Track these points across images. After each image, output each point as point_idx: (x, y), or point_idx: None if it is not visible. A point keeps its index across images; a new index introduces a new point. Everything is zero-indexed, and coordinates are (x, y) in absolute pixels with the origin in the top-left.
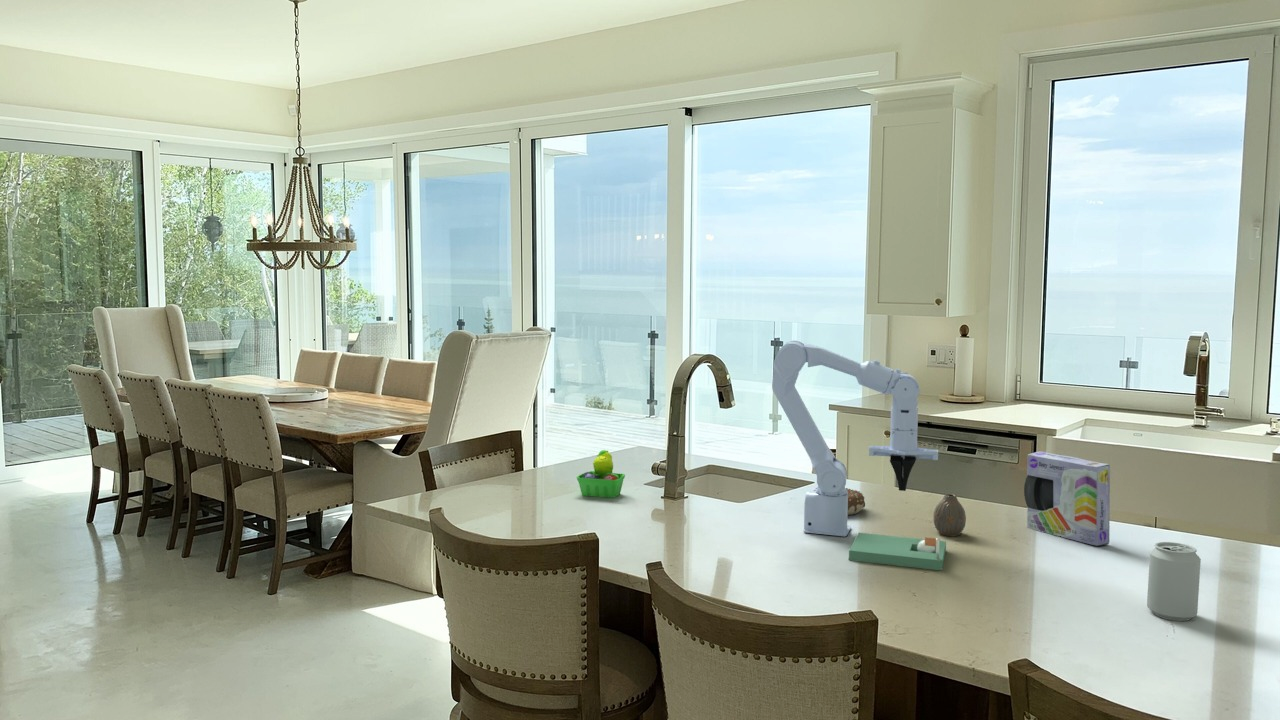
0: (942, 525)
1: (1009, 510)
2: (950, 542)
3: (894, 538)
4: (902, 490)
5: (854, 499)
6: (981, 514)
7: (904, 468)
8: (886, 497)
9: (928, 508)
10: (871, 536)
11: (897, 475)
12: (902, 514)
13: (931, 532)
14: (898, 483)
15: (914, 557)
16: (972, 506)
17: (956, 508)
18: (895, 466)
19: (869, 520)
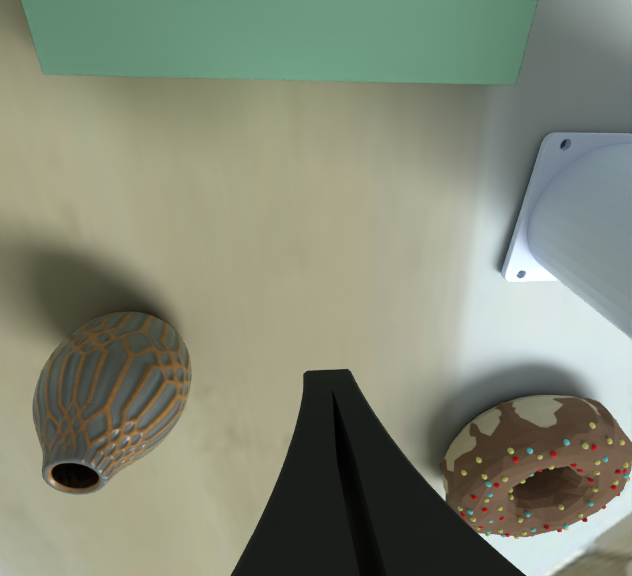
0: (140, 323)
1: (61, 572)
2: (98, 229)
3: (326, 22)
4: (324, 370)
5: (494, 460)
6: (114, 530)
7: (334, 547)
8: None
9: None
10: (455, 20)
11: (393, 460)
12: None
13: (204, 332)
14: (365, 401)
15: None
16: (157, 569)
17: (48, 397)
18: (459, 556)
19: (422, 386)
